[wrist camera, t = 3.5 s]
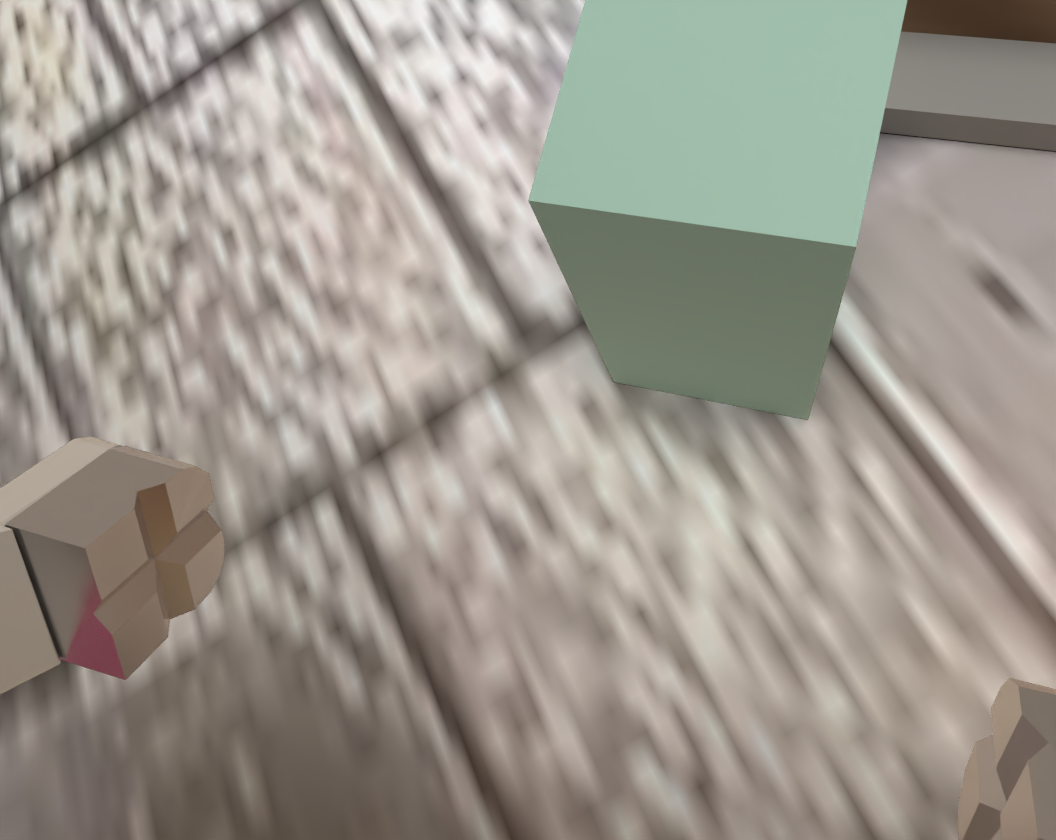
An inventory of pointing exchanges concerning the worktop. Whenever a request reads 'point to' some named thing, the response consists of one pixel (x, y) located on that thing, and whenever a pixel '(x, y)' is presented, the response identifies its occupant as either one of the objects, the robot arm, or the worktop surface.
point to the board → (973, 90)
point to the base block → (983, 19)
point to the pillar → (716, 186)
